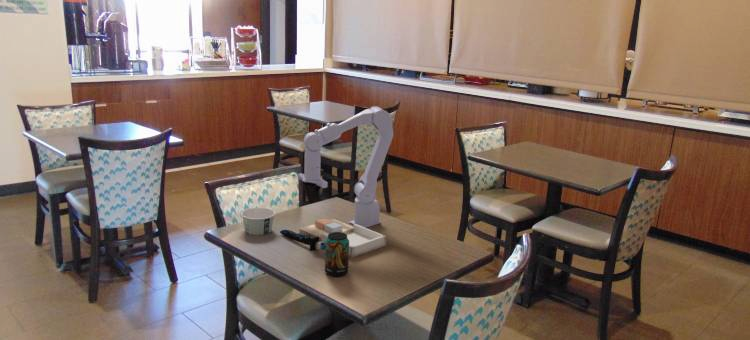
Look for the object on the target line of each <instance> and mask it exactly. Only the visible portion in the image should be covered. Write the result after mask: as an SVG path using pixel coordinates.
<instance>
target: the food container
mask: <svg viewBox="0 0 750 340" xmlns="http://www.w3.org/2000/svg"><path fill="white" fill-rule="evenodd" d="M275 215H276V211H275V210H273V209H271V208H269V207H268V208H267V207H251V208H247V209H245V210H244V209H243V210H242V211H241V213H240V216H241V217H242V222H243V227H244V231H245V233H246V232H247V234H248V233H249V235H252V234H253V235H252V236H254V235H255V236H261V235H262V236H263V235H267V234H270V233H271V232H272V231H273V230H272V229H273V224H274V223H273V222H274V218H275Z"/></svg>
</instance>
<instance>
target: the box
mask: <svg viewBox="0 0 750 340" xmlns="http://www.w3.org/2000/svg"><path fill="white" fill-rule="evenodd" d="M353 227H354V230H353V232H351V233H347V234H346V235H347V238H348V240H349V258H354V257H358V256H360V255H363V254H366V253H369V252H371V251H375V250H377V249H379V248H382V247H385V246H386V245H387V244H386V243H387V236H386V235H385V234H382V233H379V232H377V231H375V230H372V229H370V228H368V227H367V228H365V227H362V226H360V225H357V224H354V225H353ZM327 238H328V235H326V234H322V237H321V242H326V239H327Z"/></svg>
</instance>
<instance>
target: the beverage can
mask: <svg viewBox="0 0 750 340" xmlns="http://www.w3.org/2000/svg"><path fill="white" fill-rule="evenodd" d="M324 251H325V252H324V253H325V255H324V272H325V273H326V274H327V275H328V276H330V277H334V278H336V277H337V278H340V277H343V276H345V275H346V274H347V273H348V272H349V262H350V261H349V258H350V257H349V240H348V238H347V235H346V234H345V233H341V232H333V233H330V234H328V238H327V239H326V247H325V250H324Z"/></svg>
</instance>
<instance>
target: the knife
mask: <svg viewBox="0 0 750 340" xmlns="http://www.w3.org/2000/svg"><path fill="white" fill-rule="evenodd" d="M279 233H280V235H282V236H284V237H286V238H287V239H290V240H291V241H295V242H298V243H300V244H304V245H307V246H309V251H310V252H311V251H315V250H321V251H325V247H326V242H319V237H318V236H317V237H314V238H312V239H311V238H310V235H301V234H299V232H296V231H293V230H289V229H282V230H280V231H279Z"/></svg>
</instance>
